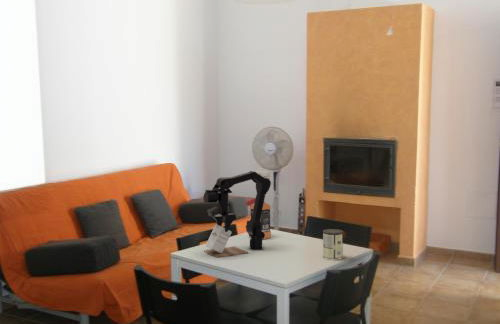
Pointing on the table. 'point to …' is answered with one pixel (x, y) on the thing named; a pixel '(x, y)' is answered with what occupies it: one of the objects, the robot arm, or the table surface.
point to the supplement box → (218, 239)
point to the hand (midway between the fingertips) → (222, 230)
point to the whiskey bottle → (264, 220)
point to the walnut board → (226, 252)
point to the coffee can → (332, 244)
